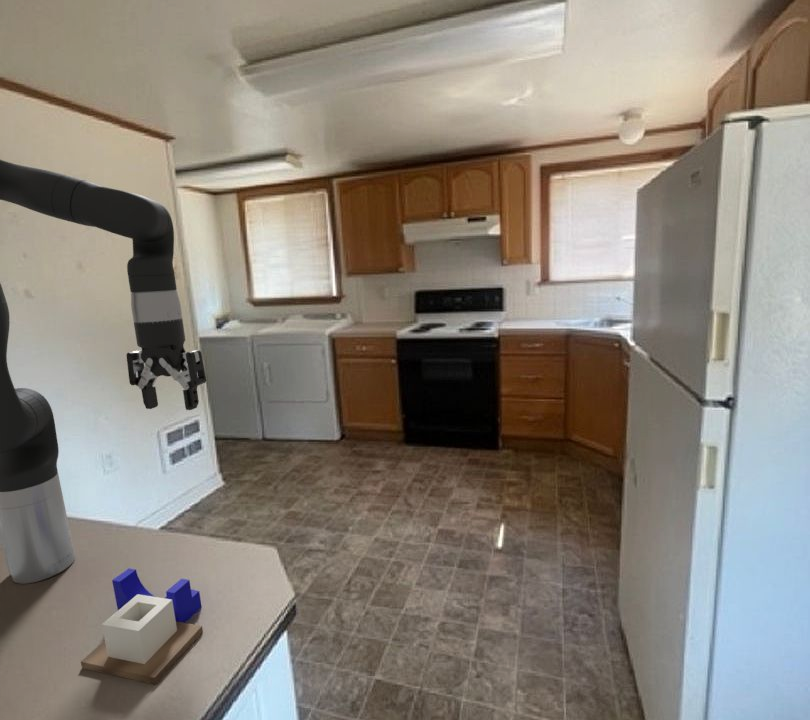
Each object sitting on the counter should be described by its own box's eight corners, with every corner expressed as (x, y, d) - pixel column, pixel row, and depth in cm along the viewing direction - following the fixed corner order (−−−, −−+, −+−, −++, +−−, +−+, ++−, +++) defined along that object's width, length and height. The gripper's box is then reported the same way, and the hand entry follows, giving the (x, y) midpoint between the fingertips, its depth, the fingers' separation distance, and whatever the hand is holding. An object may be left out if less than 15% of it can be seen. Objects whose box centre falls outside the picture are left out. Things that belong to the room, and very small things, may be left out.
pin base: (82, 668, 63) (75, 638, 62) (135, 619, 71) (131, 593, 70) (155, 684, 59) (150, 653, 59) (202, 631, 68) (198, 603, 67)
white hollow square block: (142, 624, 69) (137, 594, 68) (177, 630, 67) (172, 599, 66) (108, 656, 63) (101, 624, 62) (144, 664, 62) (138, 630, 61)
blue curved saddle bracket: (201, 608, 73) (196, 573, 72) (180, 629, 69) (174, 593, 68) (142, 595, 77) (136, 562, 76) (118, 614, 73) (112, 580, 72)
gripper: (207, 314, 82) (219, 403, 85) (141, 316, 86) (155, 401, 89) (176, 319, 75) (190, 416, 78) (106, 321, 79) (122, 413, 82)
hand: (171, 408), depth 84 cm, fingers open, 8 cm apart
